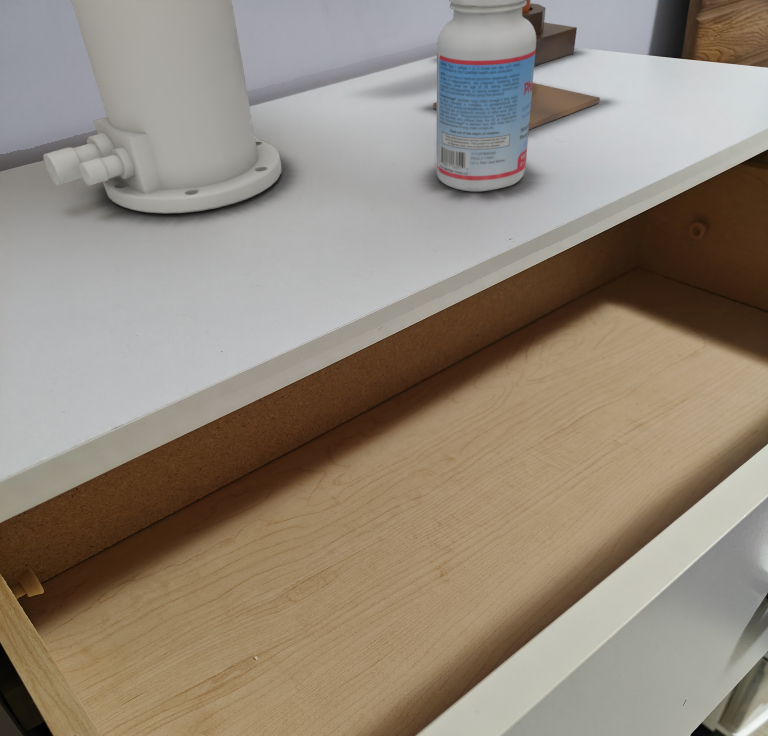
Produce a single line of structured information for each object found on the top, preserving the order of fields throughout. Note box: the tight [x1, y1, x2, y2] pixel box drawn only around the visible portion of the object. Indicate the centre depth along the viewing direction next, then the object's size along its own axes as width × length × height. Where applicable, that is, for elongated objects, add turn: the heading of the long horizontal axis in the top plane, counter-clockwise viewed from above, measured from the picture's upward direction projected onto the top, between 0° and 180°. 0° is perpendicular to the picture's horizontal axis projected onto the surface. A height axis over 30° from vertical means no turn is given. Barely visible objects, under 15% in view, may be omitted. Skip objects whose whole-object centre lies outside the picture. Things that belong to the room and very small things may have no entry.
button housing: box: [522, 2, 578, 67], centre depth 68 cm, size 10×9×4 cm
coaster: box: [432, 82, 601, 130], centre depth 58 cm, size 10×10×1 cm
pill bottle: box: [435, 0, 536, 192], centre depth 43 cm, size 6×6×11 cm
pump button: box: [522, 0, 531, 13], centre depth 67 cm, size 4×4×2 cm
